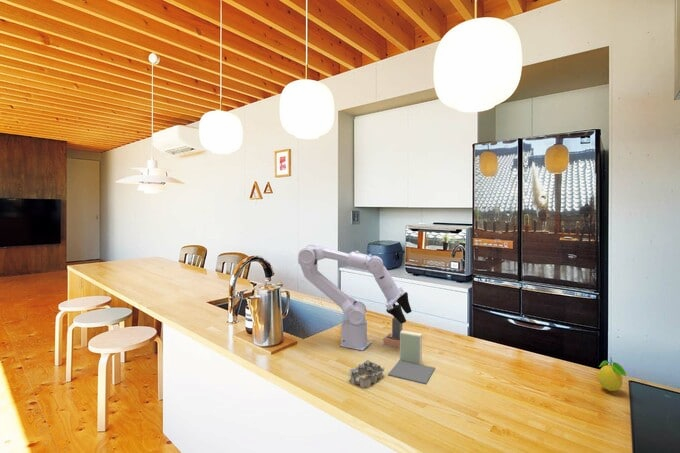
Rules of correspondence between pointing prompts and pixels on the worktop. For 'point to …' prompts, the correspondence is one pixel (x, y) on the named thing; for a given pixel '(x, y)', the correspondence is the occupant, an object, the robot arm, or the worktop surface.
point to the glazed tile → (411, 347)
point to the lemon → (611, 376)
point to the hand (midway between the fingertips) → (406, 317)
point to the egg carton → (371, 373)
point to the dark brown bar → (395, 329)
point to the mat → (412, 372)
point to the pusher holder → (391, 341)
